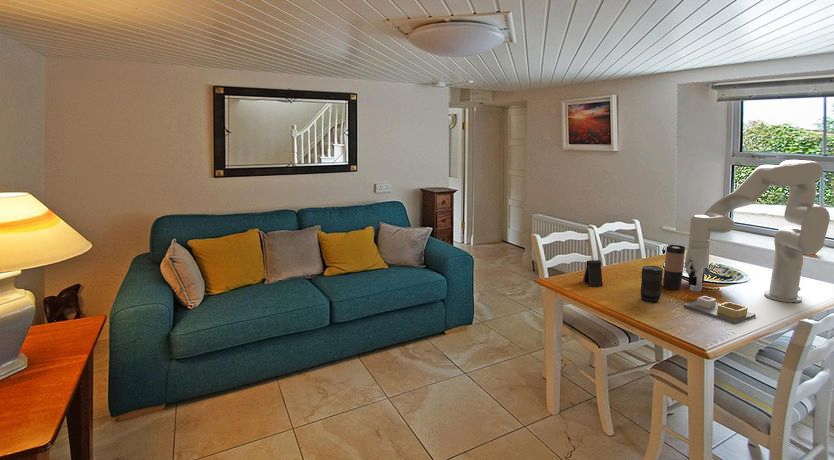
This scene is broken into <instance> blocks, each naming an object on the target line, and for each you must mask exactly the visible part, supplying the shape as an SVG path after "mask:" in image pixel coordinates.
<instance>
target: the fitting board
mask: <svg viewBox="0 0 834 460" xmlns="http://www.w3.org/2000/svg"><path fill="white" fill-rule="evenodd" d="M696 298H697V299H696V300H695V301H691V302H688V303H687V302H686V303H683V308H686V309H688V310H691V311H694V312H696V313H699V314H703V315H706V316H709V317H712V318H714V319H718V320H721V321H722V322H723V321H724V322H725V323H726V322H727V323H730V324H732V325H736V324H740V323H743V322H746V321H748V320H752V319H754V318H756V317H757V316H756V315H757V314H756V313H752V312H749V311H748V307H747V306H745V305H741V304H738V303H734V302H731V301H725V302H722V303H720V302H717V298H714V297H711V296H710V297H709V296H707V295H703V296H699V297H696ZM745 320H746V321H745Z"/></svg>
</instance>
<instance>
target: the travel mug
mask: <svg viewBox="0 0 834 460" xmlns="http://www.w3.org/2000/svg"><path fill="white" fill-rule="evenodd" d="M685 253H686V247H685V246H683V245H678V244H669V245H668V246H666V251H665V260H664V269H663V284H662V287H663V288H664V289H666V290H675V291H678V290H681V287H682V281H683V273H684V267H685V256H686V254H685Z"/></svg>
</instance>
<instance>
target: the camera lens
mask: <svg viewBox="0 0 834 460" xmlns="http://www.w3.org/2000/svg"><path fill="white" fill-rule="evenodd" d="M640 276H641V284H640V297H641V300H642V302H645V303H648V304H649V303H650V304H656V303H659V301H660V298H661V294H662V287H663V284H662V281H663V278H664V269H663V268H662V267H660V266H657V265H643V266H642V269H641V275H640Z"/></svg>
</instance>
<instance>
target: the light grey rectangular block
mask: <svg viewBox="0 0 834 460" xmlns="http://www.w3.org/2000/svg"><path fill="white" fill-rule="evenodd" d="M692 269H694V268H692ZM692 272H693V273H694V271H692ZM702 276H703V269H700V270H697V274H696V277H697V283H696V286H694V285H690V284H689V290H690V291H692V292H701V291H702V289H703V284H702Z"/></svg>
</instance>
